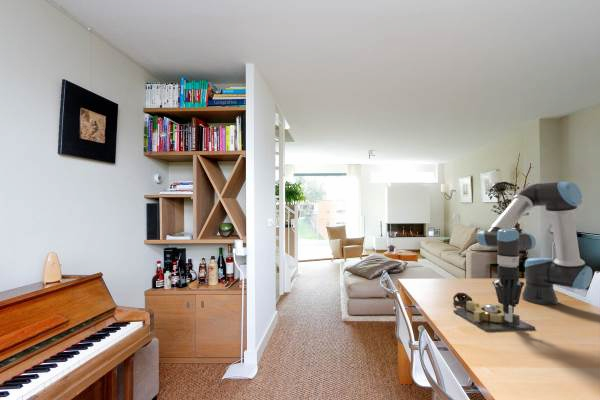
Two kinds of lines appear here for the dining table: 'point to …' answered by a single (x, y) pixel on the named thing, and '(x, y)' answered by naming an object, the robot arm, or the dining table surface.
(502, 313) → the ring nut
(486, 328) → the flange plate
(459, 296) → the pottery mug
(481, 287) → the dining table surface
